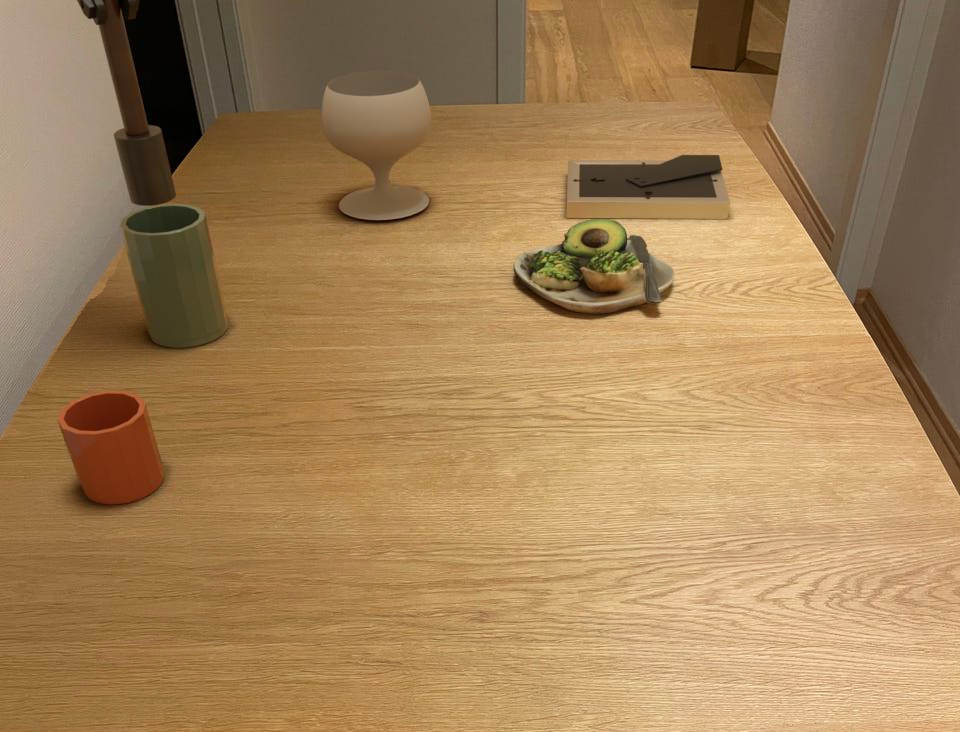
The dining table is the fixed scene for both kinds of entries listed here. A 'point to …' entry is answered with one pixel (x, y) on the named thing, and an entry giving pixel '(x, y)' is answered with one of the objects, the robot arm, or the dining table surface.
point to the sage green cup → (175, 274)
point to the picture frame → (648, 188)
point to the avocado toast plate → (595, 270)
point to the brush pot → (112, 446)
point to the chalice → (378, 136)
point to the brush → (134, 120)
